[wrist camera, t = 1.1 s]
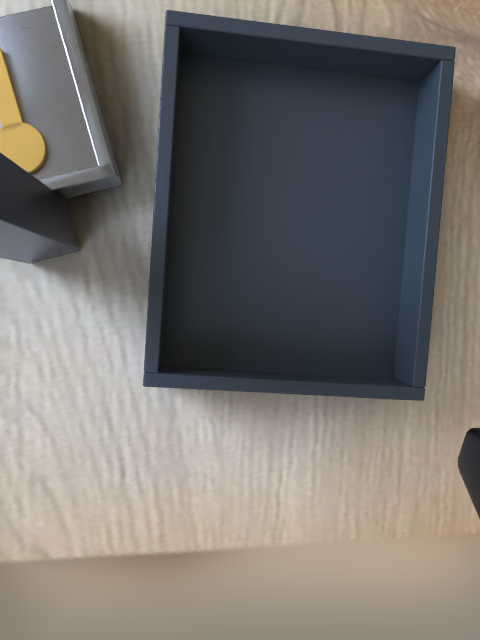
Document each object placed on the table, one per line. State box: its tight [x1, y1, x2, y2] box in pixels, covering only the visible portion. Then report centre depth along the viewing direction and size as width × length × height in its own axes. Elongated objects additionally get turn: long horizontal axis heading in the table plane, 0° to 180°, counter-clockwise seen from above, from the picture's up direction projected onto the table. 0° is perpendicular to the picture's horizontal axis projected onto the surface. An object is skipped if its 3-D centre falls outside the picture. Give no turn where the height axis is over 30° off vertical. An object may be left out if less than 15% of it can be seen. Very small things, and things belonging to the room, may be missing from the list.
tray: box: [143, 10, 456, 401], centre depth 20 cm, size 15×12×2 cm
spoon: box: [0, 48, 47, 174], centre depth 19 cm, size 5×2×1 cm, turn 15°
